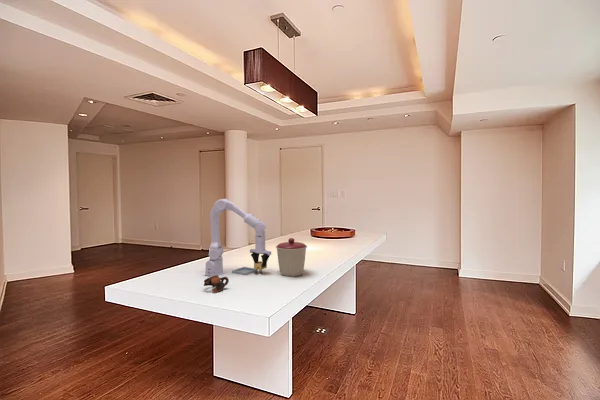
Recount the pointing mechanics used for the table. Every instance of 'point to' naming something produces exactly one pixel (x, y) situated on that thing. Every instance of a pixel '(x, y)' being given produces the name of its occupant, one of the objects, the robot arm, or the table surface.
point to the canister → (291, 257)
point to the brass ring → (259, 265)
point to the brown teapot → (216, 283)
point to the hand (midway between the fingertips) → (260, 266)
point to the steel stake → (260, 272)
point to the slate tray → (244, 271)
